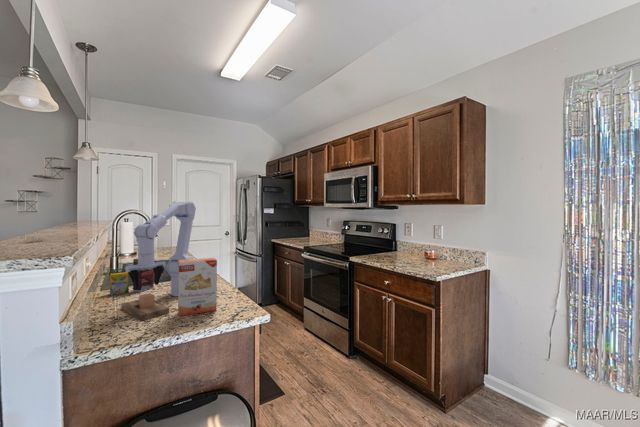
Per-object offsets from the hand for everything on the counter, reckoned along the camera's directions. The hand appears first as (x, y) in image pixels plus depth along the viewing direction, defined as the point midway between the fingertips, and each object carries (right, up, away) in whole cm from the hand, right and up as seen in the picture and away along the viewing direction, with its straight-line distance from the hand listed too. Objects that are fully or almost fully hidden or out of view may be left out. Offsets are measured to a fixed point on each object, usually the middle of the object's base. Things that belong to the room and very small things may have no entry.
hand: (146, 286), depth 122 cm
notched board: (+1, -9, -3) cm, 9 cm away
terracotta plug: (+1, -9, -2) cm, 9 cm away
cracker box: (+22, -9, -3) cm, 24 cm away
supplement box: (-17, -8, +27) cm, 33 cm away
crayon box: (-25, -8, +20) cm, 33 cm away
